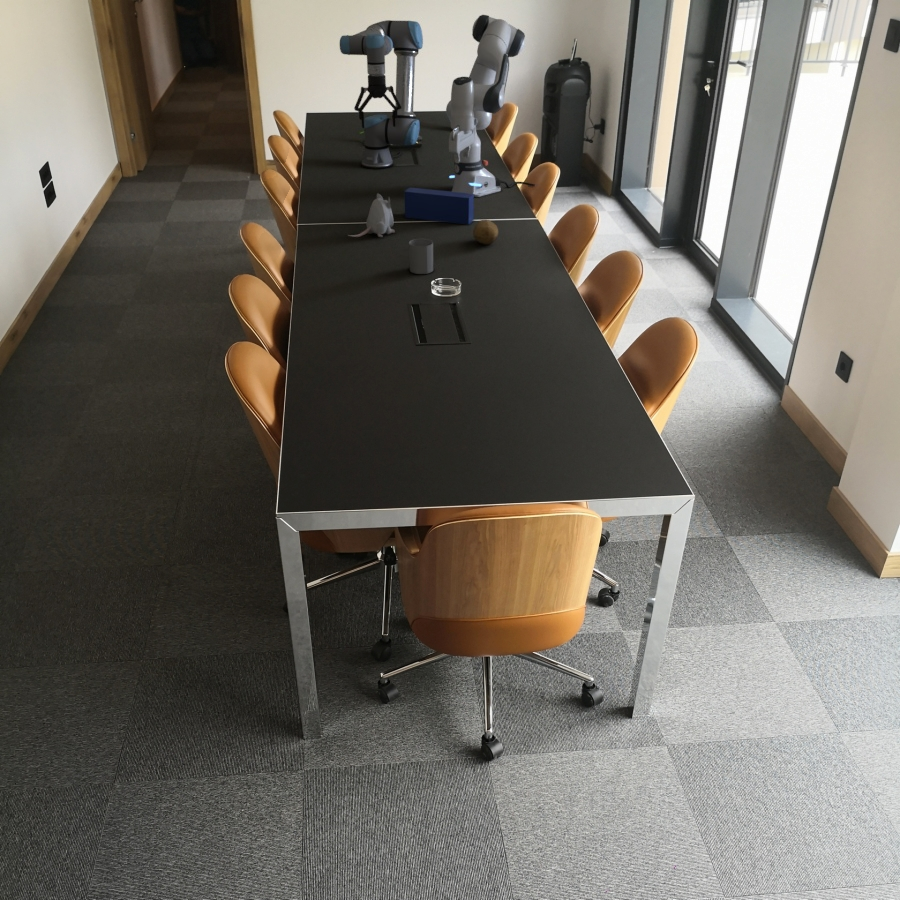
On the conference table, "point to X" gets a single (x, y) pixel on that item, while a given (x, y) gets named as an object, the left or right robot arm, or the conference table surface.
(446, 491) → the conference table surface
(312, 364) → the conference table surface
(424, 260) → the cup
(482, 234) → the potato
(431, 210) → the box
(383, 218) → the toy
